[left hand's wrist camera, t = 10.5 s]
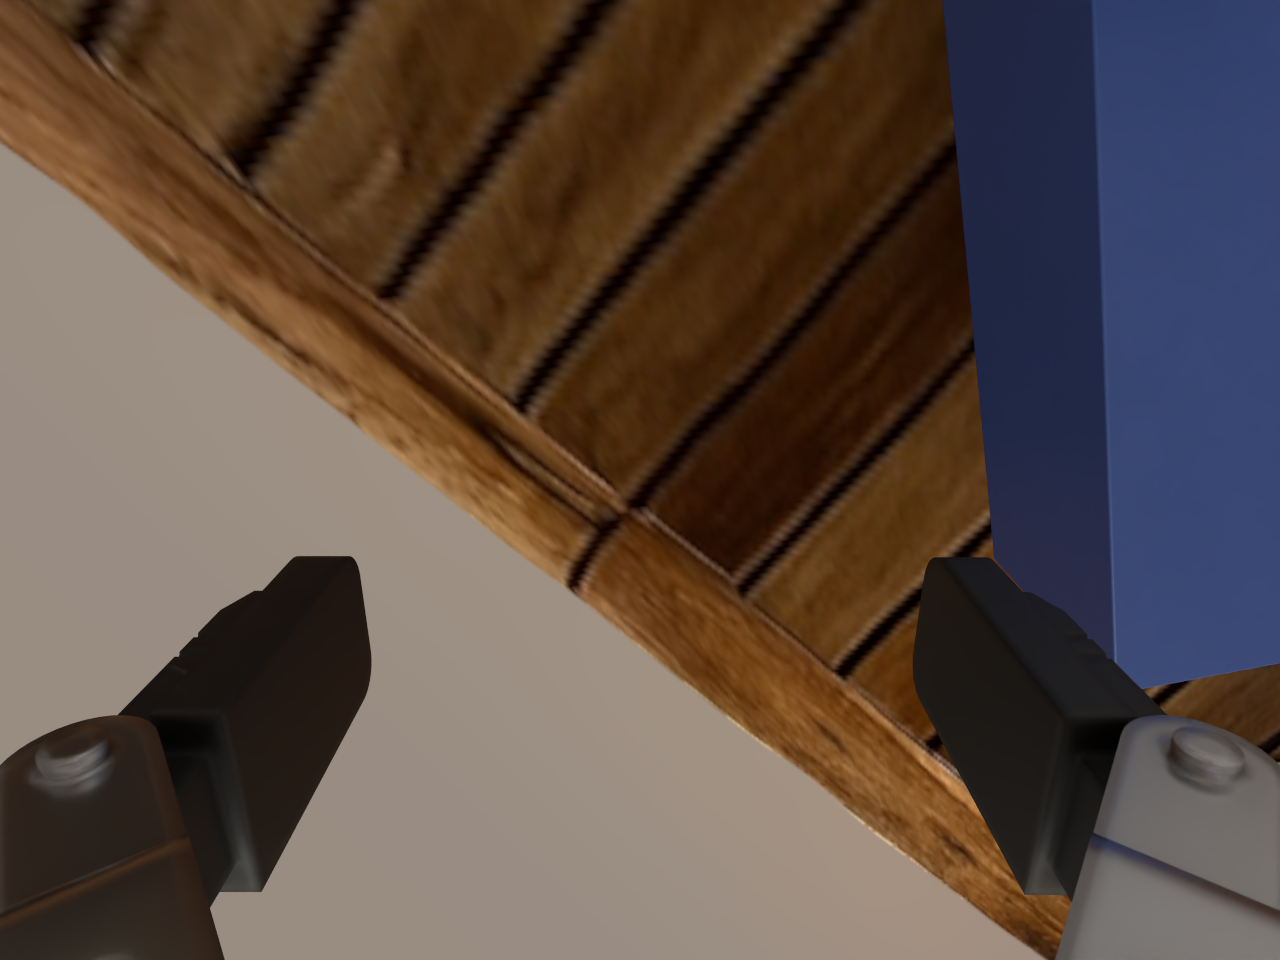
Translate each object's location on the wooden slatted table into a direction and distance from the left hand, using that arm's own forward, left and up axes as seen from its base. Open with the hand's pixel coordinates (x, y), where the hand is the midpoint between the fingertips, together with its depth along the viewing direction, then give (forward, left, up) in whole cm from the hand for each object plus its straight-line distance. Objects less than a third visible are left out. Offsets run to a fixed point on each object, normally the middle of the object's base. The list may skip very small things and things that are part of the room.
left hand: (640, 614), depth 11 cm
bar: (+7, +14, -21) cm, 26 cm away
